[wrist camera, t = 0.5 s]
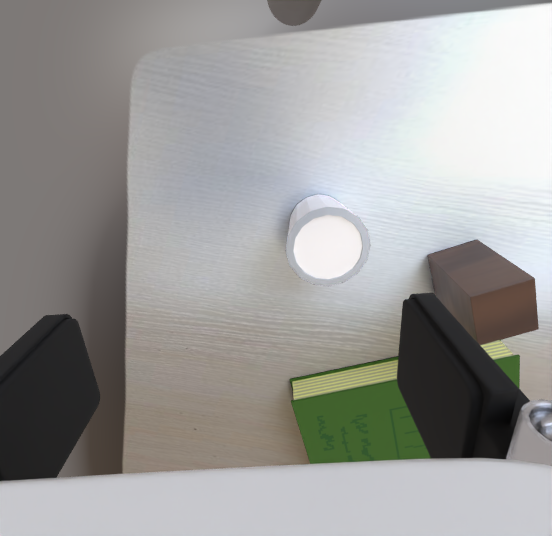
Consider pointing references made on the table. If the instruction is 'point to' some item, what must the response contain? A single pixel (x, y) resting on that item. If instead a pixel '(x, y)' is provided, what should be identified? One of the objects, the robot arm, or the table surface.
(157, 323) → the table surface
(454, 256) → the walnut block
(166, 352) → the table surface
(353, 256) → the white cup
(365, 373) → the hardcover book
